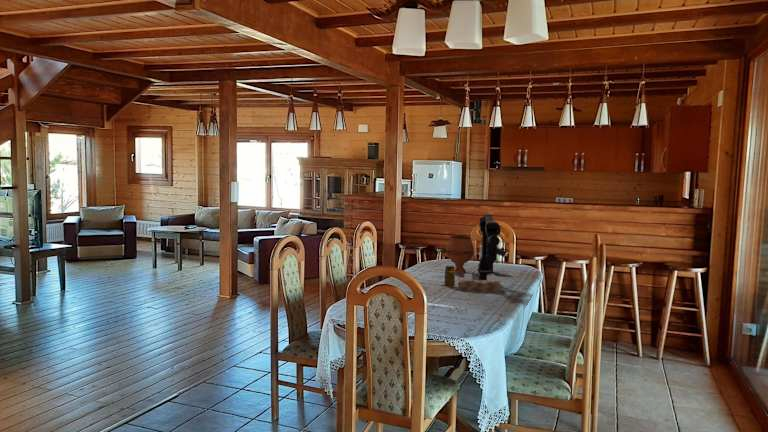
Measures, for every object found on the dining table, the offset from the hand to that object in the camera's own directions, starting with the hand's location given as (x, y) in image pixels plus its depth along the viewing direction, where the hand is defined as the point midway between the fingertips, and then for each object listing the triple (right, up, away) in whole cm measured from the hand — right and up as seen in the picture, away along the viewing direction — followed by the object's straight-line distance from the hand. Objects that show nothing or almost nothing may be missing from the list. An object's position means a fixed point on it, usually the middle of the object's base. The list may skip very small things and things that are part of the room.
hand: (490, 270), depth 336 cm
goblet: (-10, -7, +60) cm, 61 cm away
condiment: (-24, -11, +13) cm, 29 cm away
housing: (-7, -12, +2) cm, 14 cm away
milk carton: (+8, -7, +64) cm, 65 cm away
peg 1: (-13, -8, +3) cm, 15 cm away
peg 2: (0, -8, +1) cm, 8 cm away
